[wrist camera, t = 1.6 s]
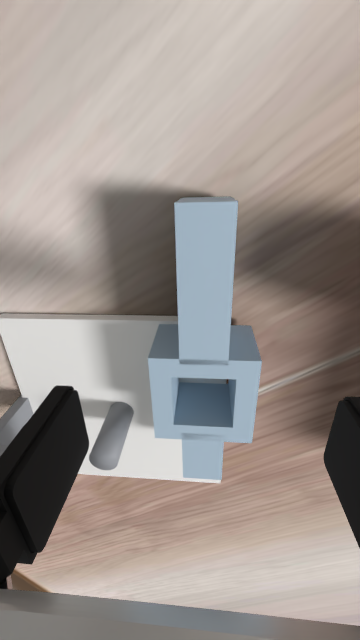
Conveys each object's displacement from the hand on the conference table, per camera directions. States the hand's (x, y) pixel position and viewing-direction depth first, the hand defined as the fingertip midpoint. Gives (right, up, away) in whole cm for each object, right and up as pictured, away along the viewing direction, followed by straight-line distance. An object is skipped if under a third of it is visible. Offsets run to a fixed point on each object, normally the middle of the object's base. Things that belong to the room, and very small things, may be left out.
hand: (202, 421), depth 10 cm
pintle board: (-6, -5, +18) cm, 20 cm away
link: (+1, +2, +13) cm, 13 cm away
